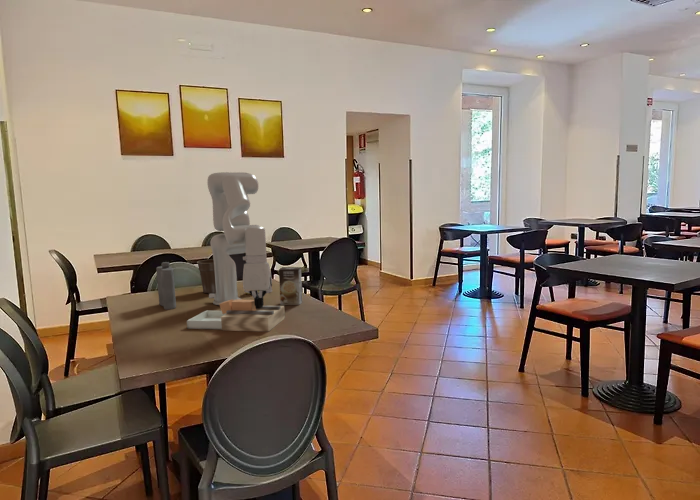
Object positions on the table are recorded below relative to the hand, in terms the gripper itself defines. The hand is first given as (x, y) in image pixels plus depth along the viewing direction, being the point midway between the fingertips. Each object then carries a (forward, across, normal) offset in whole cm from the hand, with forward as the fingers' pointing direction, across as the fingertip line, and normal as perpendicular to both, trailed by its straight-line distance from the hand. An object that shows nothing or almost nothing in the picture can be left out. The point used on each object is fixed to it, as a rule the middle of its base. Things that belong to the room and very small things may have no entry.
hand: (259, 307), depth 180 cm
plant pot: (+7, -47, +58) cm, 75 cm away
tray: (+6, -18, 0) cm, 20 cm away
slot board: (+6, -2, 0) cm, 7 cm away
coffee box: (+7, +2, +34) cm, 35 cm away
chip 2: (+1, -4, 0) cm, 4 cm away
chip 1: (+2, -12, 0) cm, 12 cm away
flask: (+7, -54, +26) cm, 60 cm away
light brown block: (+1, -8, 0) cm, 8 cm away
